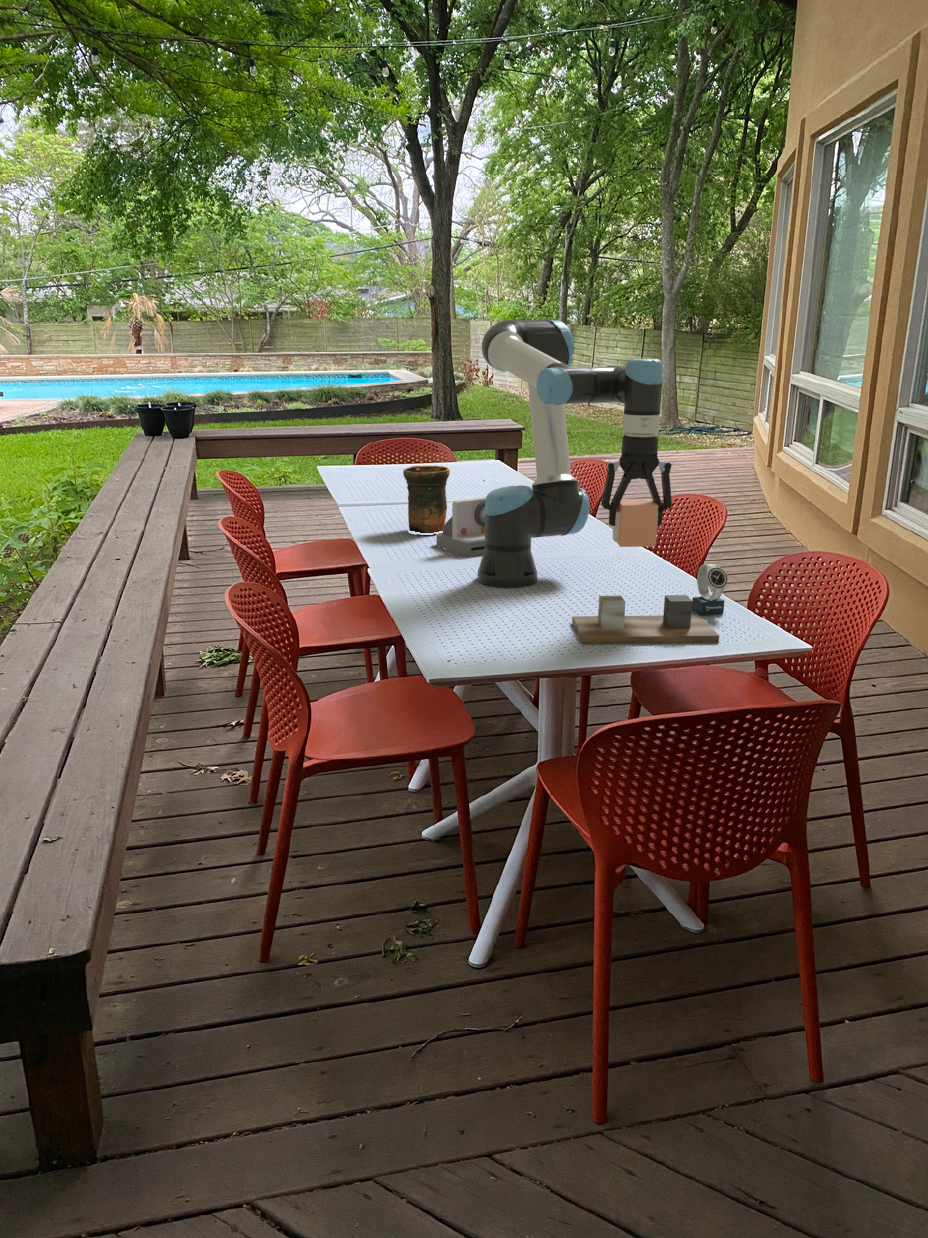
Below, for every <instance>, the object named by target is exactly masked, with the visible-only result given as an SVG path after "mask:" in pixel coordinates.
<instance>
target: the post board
mask: <svg viewBox="0 0 928 1238" xmlns="http://www.w3.org/2000/svg"><path fill="white" fill-rule="evenodd" d="M692 600H693V599H691V598H690V597H689V596H688V595H687V594H664V603H663V604H664V605H663V615H626V613H625V612H626V600H625V599H624V598H623V597H622V595H599V596H598V612H597V614H598V615H595V616H594V615H591V616H588V615H587V616H585V615H582V616H581V615H580V616H571V617H572V618H571V623H573V624H572V625H574V626H573V627H574V629H575V631H576V634H577V635H578V637H579V639H580V642H581V643H582V645H614V644H615V645H618V644H619V645H620V644H622V645H623V644H624V645H625V644H626V645H627V644H628V645H630V644H684V643H685V644H696V643H697V644H698V643H699V644H700V643H701V644H704V643H708V644H709V643H710V644H712V643H713V644H715V643H720V634H719V633H718V632H717V631H715V629H714V628H713V627H712V626H711V625H710V624H709V623H708V621H706V620H705V619H704V618H703V617H702V616H701V615H699V614H692V612H693V611H692Z"/></svg>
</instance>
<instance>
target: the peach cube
mask: <svg viewBox="0 0 928 1238" xmlns="http://www.w3.org/2000/svg"><path fill="white" fill-rule="evenodd" d="M617 510H618V511H619V512H620V520H619V538H618V542H616V544H617V545H618V546H619V547H621V548H639V547H640V548H641V547H642V548H643V547H644V548H645V547H646V548H648V547H650V548H652V547H655V548H656V542H657V537H656V531H657V532H658V526H657V516H658V505H657V504H656V503H655V502H653V499H652V498H622V499H621V502H620V504H619V506H618V508H617Z"/></svg>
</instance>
